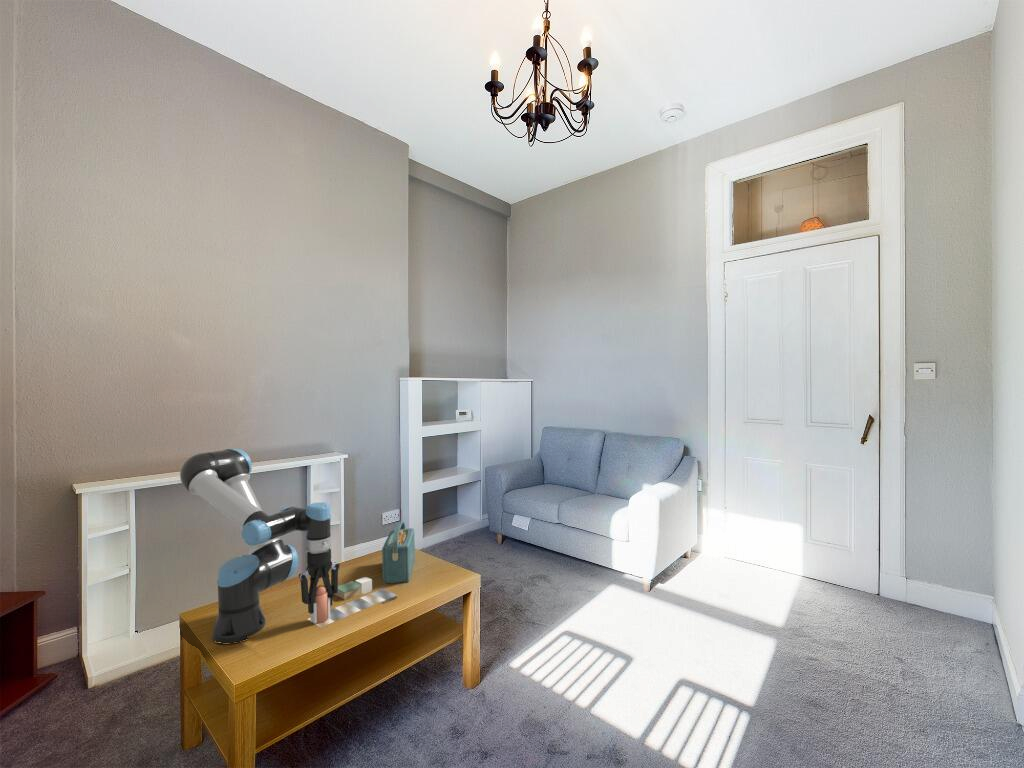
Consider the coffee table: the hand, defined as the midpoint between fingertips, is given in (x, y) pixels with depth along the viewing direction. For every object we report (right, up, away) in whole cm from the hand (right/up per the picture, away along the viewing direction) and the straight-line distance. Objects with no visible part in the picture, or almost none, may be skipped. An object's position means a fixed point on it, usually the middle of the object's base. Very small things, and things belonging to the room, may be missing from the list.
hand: (320, 618), depth 158 cm
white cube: (+5, +1, +23) cm, 24 cm away
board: (+8, -2, +10) cm, 13 cm away
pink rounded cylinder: (0, 0, 0) cm, 0 cm away
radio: (+16, -2, +43) cm, 46 cm away
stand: (+2, -2, +20) cm, 20 cm away
